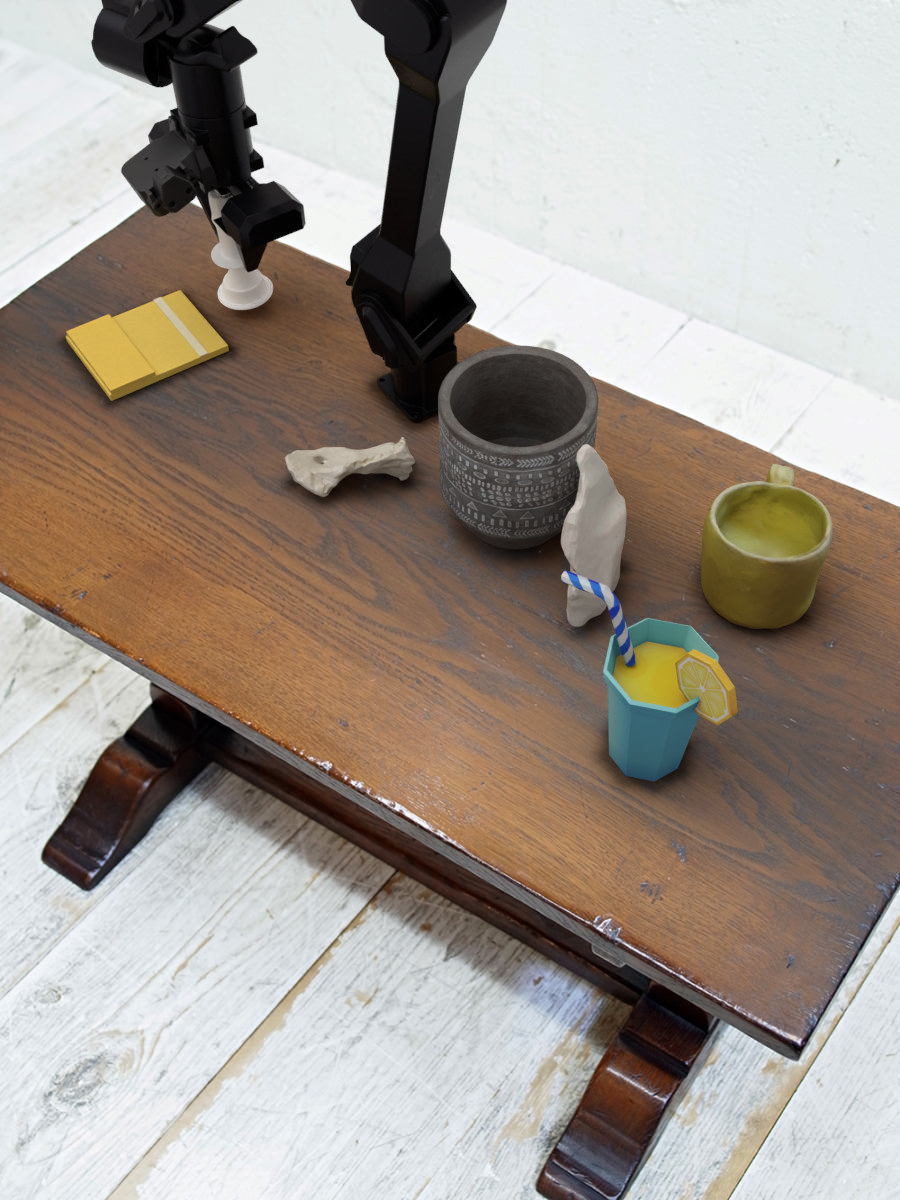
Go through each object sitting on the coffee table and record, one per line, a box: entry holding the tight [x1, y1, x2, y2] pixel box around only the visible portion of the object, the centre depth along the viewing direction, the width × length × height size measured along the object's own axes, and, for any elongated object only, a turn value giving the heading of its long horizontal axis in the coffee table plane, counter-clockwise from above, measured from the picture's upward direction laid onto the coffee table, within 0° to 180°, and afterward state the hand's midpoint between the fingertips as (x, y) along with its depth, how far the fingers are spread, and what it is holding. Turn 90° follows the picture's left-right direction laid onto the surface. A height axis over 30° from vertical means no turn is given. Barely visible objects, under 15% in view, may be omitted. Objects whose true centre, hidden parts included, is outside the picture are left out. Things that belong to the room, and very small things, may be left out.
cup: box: [560, 570, 739, 782], centre depth 87 cm, size 14×8×15 cm, turn 53°
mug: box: [700, 463, 834, 630], centre depth 99 cm, size 12×10×10 cm
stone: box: [560, 444, 628, 627], centre depth 96 cm, size 11×4×15 cm, turn 167°
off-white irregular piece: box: [284, 436, 416, 498], centre depth 108 cm, size 6×10×4 cm, turn 104°
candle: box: [208, 190, 274, 311], centre depth 118 cm, size 5×5×12 cm
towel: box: [65, 289, 230, 402], centre depth 120 cm, size 10×12×1 cm
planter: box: [437, 344, 599, 550], centre depth 102 cm, size 12×12×13 cm
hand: (238, 256), depth 120 cm, fingers closed on candle, 5 cm apart
